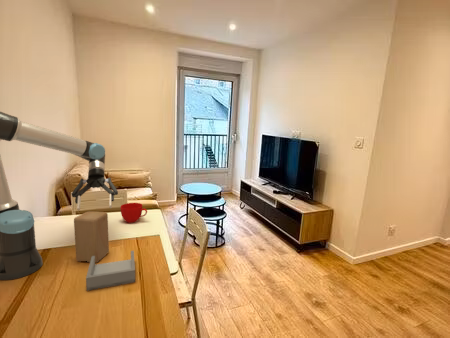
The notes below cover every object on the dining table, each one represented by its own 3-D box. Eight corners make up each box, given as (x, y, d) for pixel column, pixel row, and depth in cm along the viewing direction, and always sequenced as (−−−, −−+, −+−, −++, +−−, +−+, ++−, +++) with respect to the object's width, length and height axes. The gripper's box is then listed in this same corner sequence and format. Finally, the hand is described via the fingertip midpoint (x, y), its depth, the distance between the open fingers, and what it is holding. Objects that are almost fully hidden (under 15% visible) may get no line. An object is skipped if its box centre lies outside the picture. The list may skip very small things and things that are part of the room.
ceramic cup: (141, 226, 150) (141, 210, 148) (116, 223, 153) (115, 207, 151) (152, 219, 162) (151, 204, 161) (128, 216, 165) (128, 202, 164)
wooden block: (109, 252, 117) (108, 211, 114) (97, 263, 107) (95, 219, 104) (89, 251, 118) (87, 210, 115) (75, 261, 108) (72, 217, 105)
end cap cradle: (86, 290, 89) (86, 278, 89) (92, 267, 104) (91, 256, 104) (135, 282, 95) (135, 270, 95) (133, 261, 110) (133, 250, 110)
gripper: (122, 174, 138) (123, 209, 126) (70, 176, 128) (65, 213, 117) (122, 166, 132) (122, 202, 121) (67, 168, 123) (62, 206, 111)
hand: (94, 208), depth 119 cm, fingers open, 13 cm apart
